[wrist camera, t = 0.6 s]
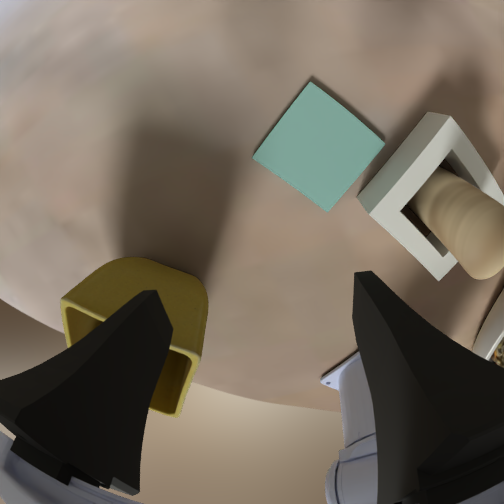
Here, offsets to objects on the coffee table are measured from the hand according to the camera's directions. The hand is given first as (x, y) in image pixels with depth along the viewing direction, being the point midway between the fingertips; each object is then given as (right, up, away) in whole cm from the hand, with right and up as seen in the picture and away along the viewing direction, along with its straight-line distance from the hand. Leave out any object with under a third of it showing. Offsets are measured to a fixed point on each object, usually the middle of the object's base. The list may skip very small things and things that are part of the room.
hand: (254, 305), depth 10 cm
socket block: (+12, +6, +7) cm, 15 cm away
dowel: (+12, +6, +7) cm, 15 cm away
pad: (+4, +8, +7) cm, 11 cm away
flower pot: (-7, -1, +13) cm, 15 cm away
